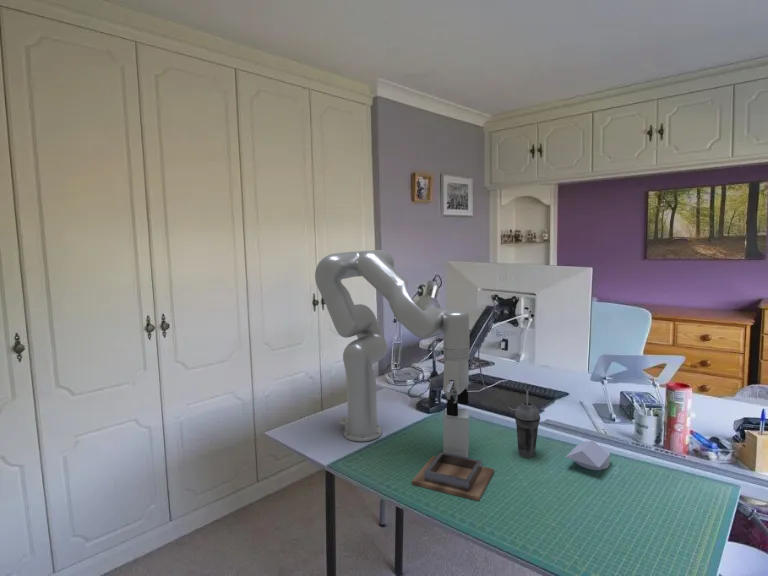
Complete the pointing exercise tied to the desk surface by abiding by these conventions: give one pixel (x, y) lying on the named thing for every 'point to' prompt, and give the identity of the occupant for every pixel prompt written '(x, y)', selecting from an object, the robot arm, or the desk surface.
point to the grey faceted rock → (590, 456)
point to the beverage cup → (527, 428)
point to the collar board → (454, 476)
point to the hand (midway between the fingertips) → (457, 409)
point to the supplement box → (456, 433)
